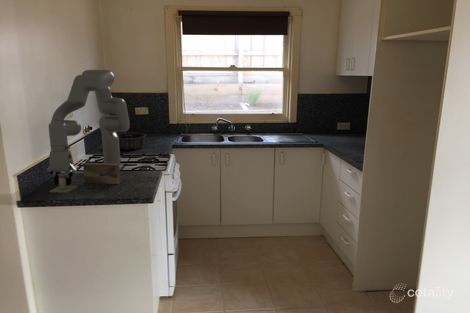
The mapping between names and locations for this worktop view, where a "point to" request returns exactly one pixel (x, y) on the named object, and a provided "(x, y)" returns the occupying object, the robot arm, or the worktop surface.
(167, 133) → the worktop surface
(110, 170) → the strap
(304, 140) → the worktop surface
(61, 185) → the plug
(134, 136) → the bundt pan
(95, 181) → the stand
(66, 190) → the mat
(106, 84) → the robot arm
